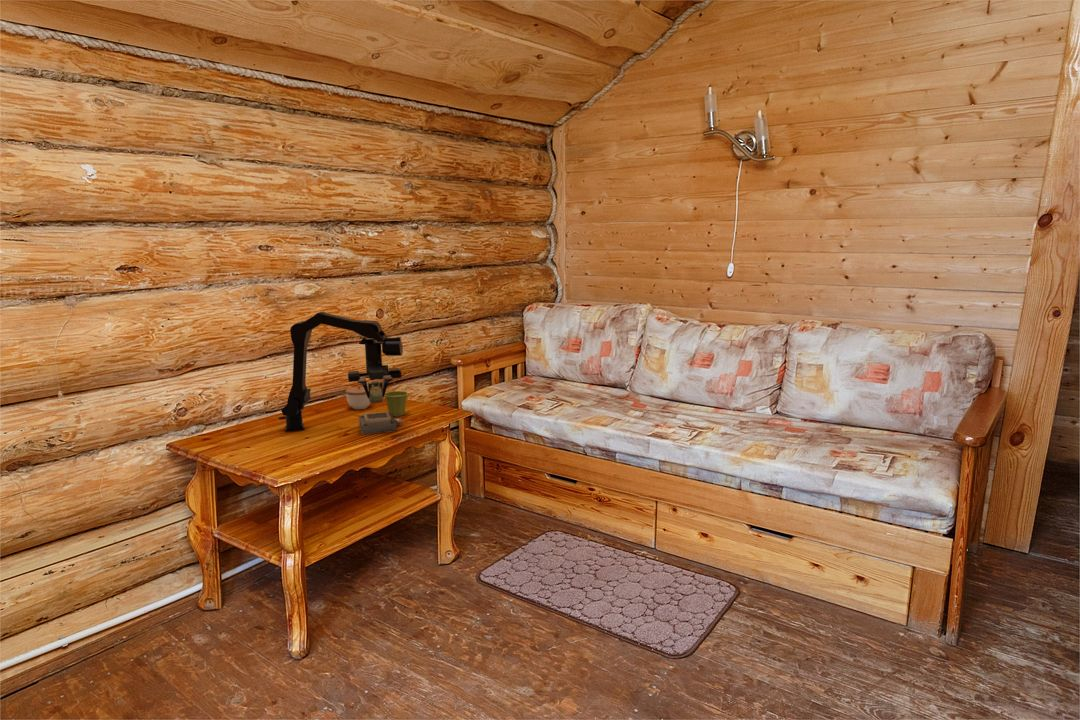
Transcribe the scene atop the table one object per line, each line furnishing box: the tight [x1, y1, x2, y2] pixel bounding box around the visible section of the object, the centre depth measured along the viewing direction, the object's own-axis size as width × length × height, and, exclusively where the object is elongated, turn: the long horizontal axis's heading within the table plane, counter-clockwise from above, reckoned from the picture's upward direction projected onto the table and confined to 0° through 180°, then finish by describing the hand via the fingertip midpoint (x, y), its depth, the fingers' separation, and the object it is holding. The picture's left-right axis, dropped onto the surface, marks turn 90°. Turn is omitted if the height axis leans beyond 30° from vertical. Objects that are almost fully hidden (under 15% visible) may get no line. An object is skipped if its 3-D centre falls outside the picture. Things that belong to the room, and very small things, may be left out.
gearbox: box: [358, 411, 403, 436], centre depth 238 cm, size 14×15×4 cm
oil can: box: [367, 380, 384, 404], centre depth 235 cm, size 7×5×8 cm
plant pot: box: [384, 390, 409, 417], centre depth 254 cm, size 9×9×9 cm
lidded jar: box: [345, 384, 371, 410], centre depth 265 cm, size 11×11×9 cm
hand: (375, 397), depth 236 cm, fingers closed on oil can, 5 cm apart
